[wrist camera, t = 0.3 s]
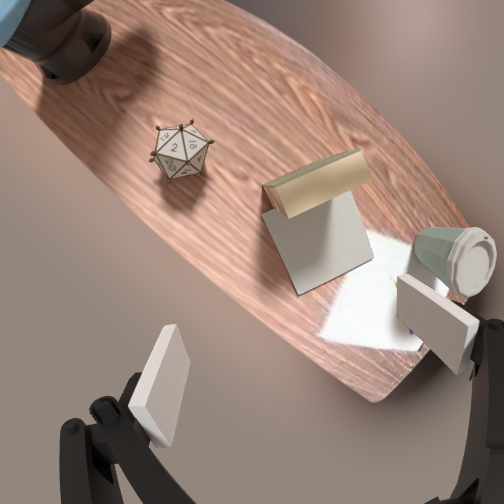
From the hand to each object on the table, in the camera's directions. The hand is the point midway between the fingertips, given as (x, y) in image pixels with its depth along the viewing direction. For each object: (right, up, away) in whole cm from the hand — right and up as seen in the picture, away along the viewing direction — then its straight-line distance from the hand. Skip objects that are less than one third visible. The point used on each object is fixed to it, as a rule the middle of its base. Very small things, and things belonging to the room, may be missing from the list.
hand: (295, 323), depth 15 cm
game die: (-12, +18, +23) cm, 32 cm away
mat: (+8, +6, +27) cm, 29 cm away
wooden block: (+4, +14, +25) cm, 29 cm away
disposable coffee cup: (+29, +5, +28) cm, 41 cm away
